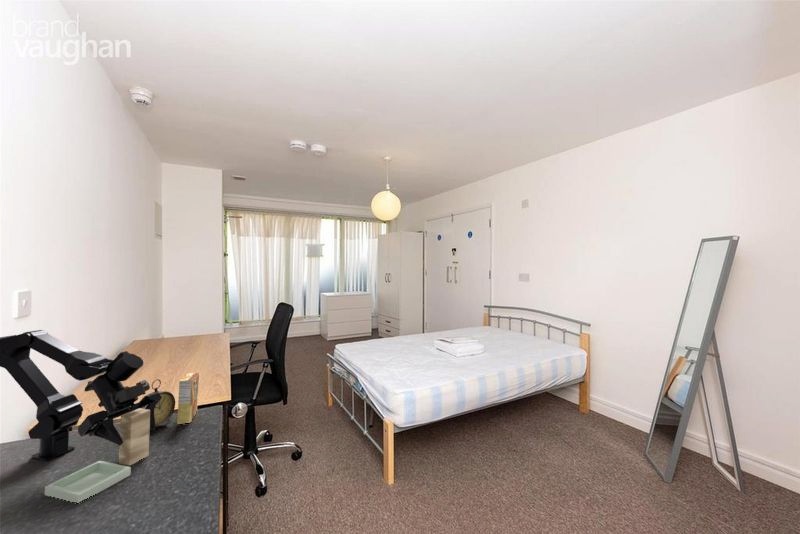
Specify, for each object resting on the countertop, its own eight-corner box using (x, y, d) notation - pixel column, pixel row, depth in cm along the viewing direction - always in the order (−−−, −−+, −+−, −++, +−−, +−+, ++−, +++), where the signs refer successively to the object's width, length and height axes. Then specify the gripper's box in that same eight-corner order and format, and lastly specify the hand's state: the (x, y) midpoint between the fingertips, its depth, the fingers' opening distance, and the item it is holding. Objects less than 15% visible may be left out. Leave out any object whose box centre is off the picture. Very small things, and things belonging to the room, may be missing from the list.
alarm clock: (145, 436, 102) (147, 385, 103) (131, 434, 103) (133, 383, 104) (175, 421, 113) (177, 375, 113) (163, 419, 114) (165, 374, 114)
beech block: (118, 463, 87) (120, 415, 88) (137, 453, 92) (139, 408, 93) (129, 465, 86) (131, 417, 87) (148, 455, 91) (150, 409, 92)
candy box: (184, 415, 118) (186, 373, 118) (197, 413, 119) (199, 372, 120) (176, 425, 110) (178, 380, 110) (190, 424, 111) (192, 379, 111)
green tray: (44, 495, 74) (45, 486, 74) (99, 468, 85) (99, 460, 85) (78, 504, 72) (78, 495, 72) (130, 475, 82) (130, 467, 82)
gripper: (87, 384, 82) (117, 434, 79) (159, 365, 100) (185, 405, 97) (64, 412, 84) (93, 461, 81) (138, 388, 102) (164, 428, 99)
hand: (138, 436), depth 89 cm, fingers open, 8 cm apart
